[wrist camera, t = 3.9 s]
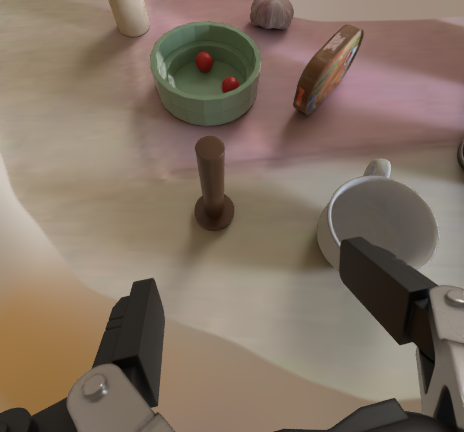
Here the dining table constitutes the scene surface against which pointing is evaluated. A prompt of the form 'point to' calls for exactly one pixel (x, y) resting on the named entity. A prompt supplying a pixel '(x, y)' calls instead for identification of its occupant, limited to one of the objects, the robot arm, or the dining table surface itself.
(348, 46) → the tin
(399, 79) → the dining table surface
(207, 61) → the berry
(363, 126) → the dining table surface
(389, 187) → the teacup
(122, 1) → the candle
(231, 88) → the berry
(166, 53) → the bowl
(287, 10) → the garlic bulb
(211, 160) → the muddler
